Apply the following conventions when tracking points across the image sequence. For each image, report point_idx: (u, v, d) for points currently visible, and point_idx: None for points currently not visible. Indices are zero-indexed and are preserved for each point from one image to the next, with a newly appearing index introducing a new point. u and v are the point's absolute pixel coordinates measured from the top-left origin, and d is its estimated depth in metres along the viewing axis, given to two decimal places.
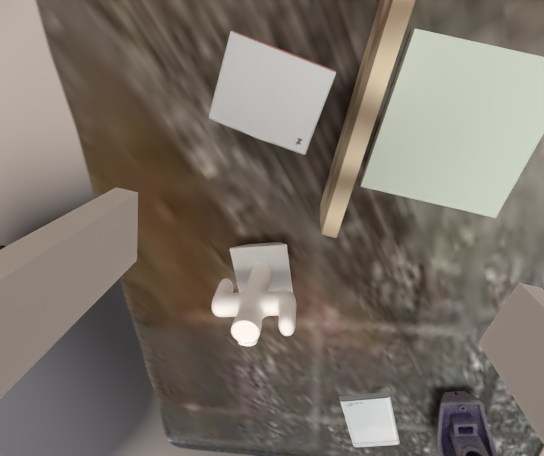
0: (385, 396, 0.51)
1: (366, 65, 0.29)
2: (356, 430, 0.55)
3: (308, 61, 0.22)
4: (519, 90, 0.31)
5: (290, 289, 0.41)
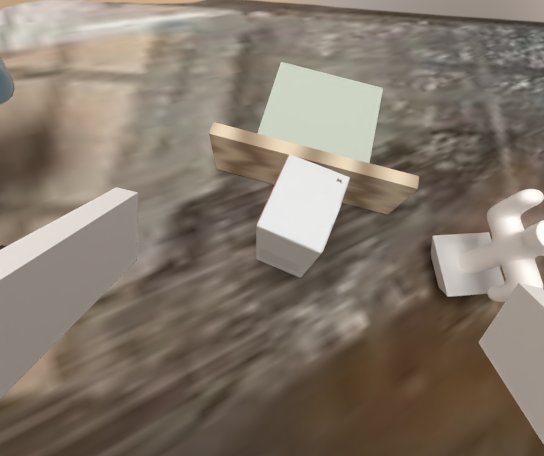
0: None
1: (276, 168, 0.39)
2: None
3: (281, 171, 0.29)
4: (293, 88, 0.47)
5: (484, 234, 0.38)
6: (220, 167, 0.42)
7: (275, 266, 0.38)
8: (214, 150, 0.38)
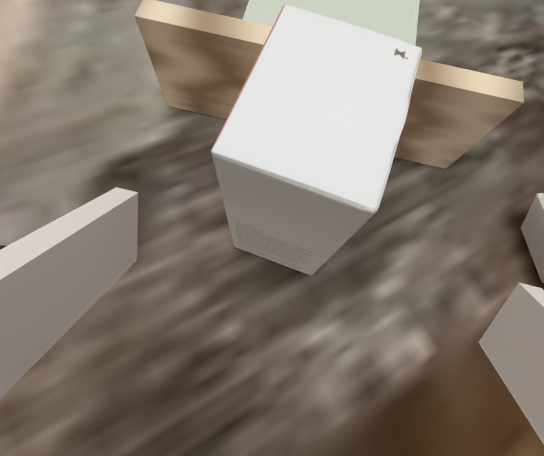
0: None
1: None
2: None
3: (268, 37, 0.13)
4: None
5: None
6: (173, 101, 0.26)
7: (267, 257, 0.22)
8: (154, 61, 0.22)
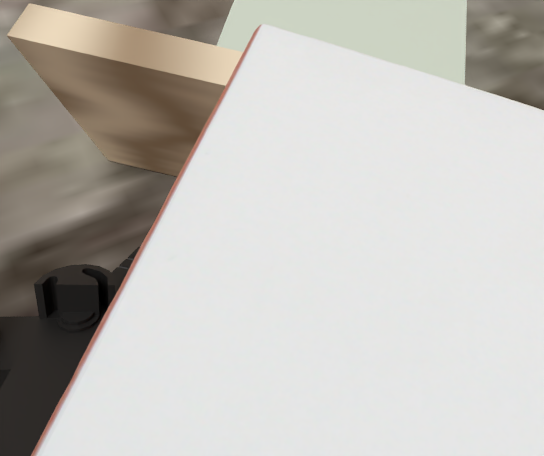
0: None
1: None
2: None
3: (207, 126, 0.04)
4: None
5: None
6: (113, 156, 0.17)
7: None
8: (67, 105, 0.14)
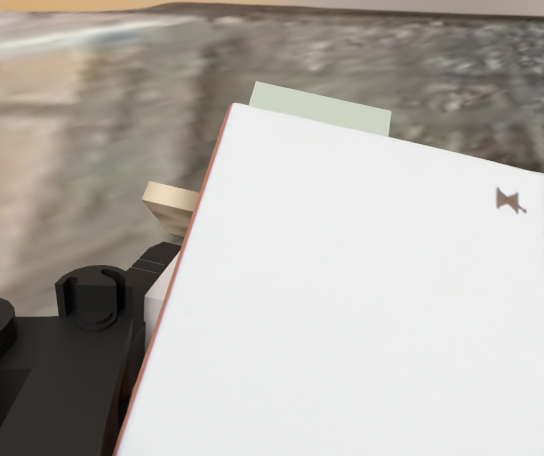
0: None
1: None
2: None
3: (200, 200, 0.05)
4: None
5: None
6: (173, 232, 0.30)
7: None
8: (157, 216, 0.27)
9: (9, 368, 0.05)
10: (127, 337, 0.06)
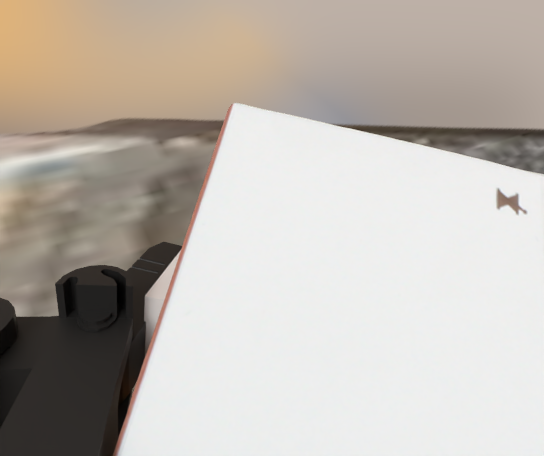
0: None
1: None
2: None
3: (200, 201, 0.05)
4: None
5: None
6: None
7: None
8: None
9: (9, 368, 0.05)
10: (127, 337, 0.06)
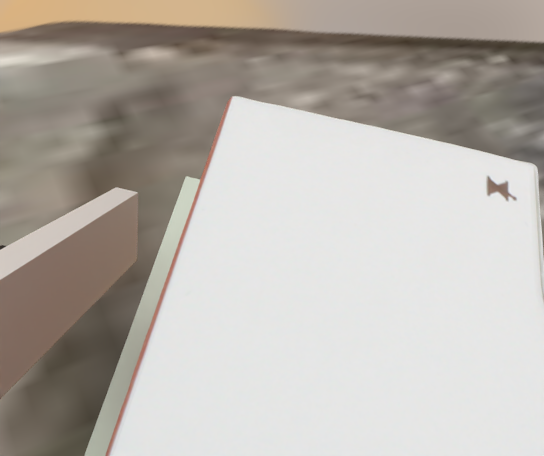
0: None
1: None
2: None
3: (200, 187, 0.05)
4: None
5: None
6: None
7: None
8: None
9: None
10: None
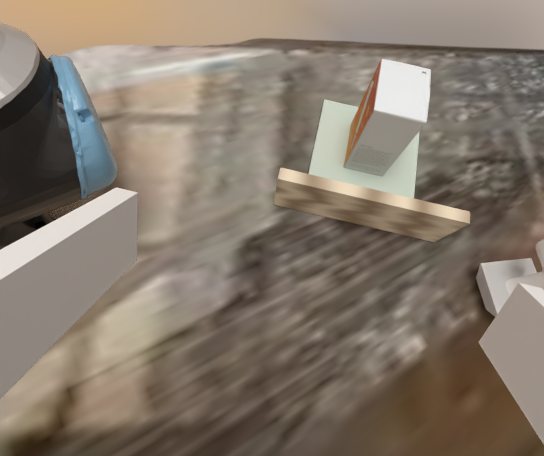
0: None
1: (334, 205, 0.42)
2: None
3: (379, 71, 0.37)
4: (338, 125, 0.50)
5: (527, 260, 0.42)
6: (278, 203, 0.45)
7: (362, 169, 0.47)
8: (277, 190, 0.42)
9: None
10: None
